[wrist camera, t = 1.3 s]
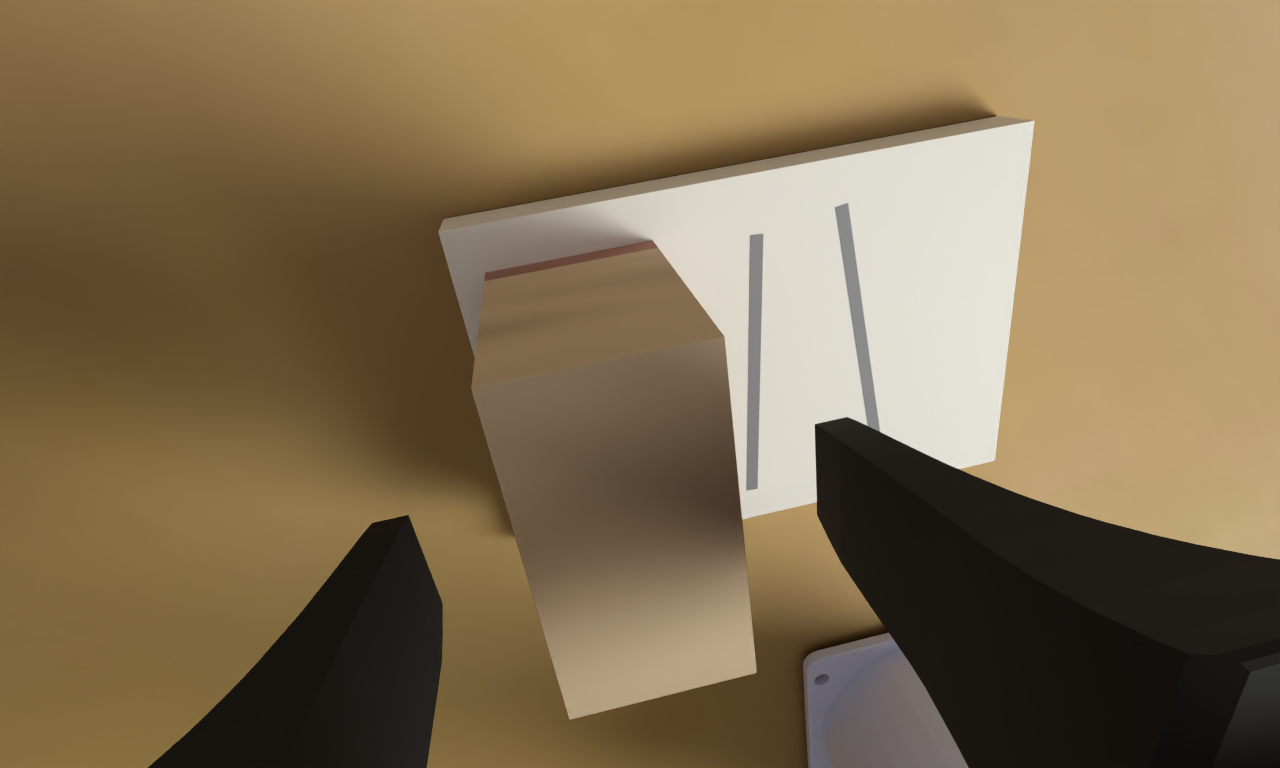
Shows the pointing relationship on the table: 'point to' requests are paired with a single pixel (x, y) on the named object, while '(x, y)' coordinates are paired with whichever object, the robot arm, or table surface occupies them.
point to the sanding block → (617, 472)
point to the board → (818, 285)
